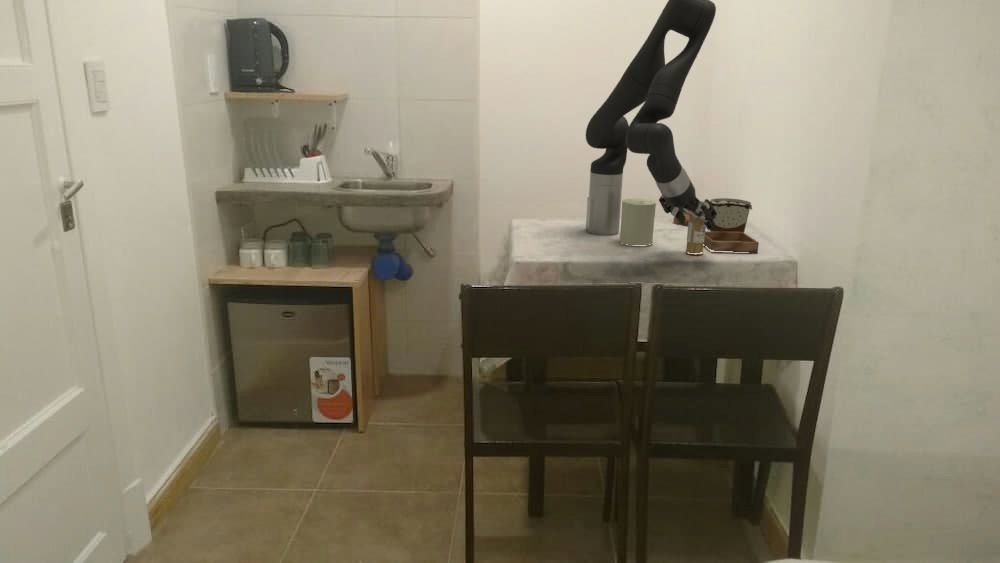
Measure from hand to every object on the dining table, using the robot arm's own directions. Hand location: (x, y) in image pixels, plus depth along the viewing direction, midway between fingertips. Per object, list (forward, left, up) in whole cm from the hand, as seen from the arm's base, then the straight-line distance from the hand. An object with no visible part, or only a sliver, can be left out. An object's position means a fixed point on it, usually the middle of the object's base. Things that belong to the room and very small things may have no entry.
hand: (696, 224), depth 189 cm
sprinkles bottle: (0, 0, -8) cm, 8 cm away
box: (+11, +7, -8) cm, 15 cm away
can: (-13, +11, -8) cm, 19 cm away
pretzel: (+10, +37, -8) cm, 40 cm away
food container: (+16, +24, -8) cm, 30 cm away
